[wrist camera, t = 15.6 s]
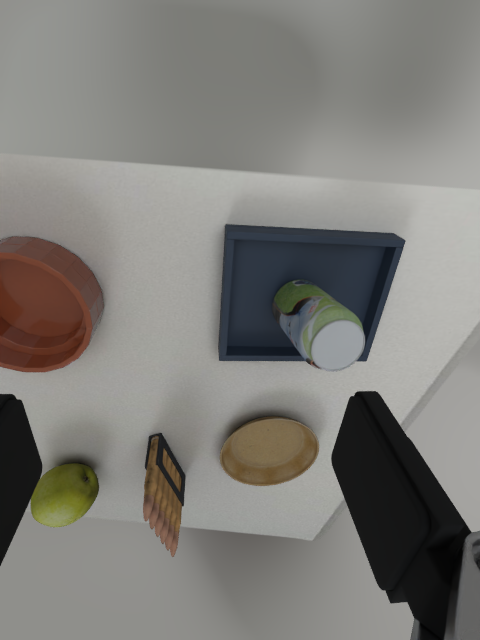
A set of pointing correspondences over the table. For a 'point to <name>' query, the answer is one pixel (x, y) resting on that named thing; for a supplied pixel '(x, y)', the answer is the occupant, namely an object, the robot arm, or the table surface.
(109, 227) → the table surface
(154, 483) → the ammunition clip
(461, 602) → the robot arm
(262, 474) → the plant saucer
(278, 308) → the beverage can
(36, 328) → the bowl
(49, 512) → the apple
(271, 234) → the tray
